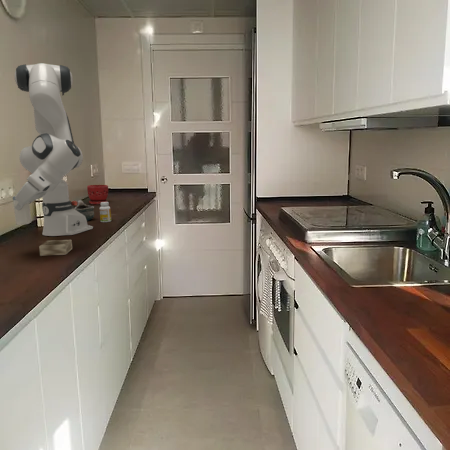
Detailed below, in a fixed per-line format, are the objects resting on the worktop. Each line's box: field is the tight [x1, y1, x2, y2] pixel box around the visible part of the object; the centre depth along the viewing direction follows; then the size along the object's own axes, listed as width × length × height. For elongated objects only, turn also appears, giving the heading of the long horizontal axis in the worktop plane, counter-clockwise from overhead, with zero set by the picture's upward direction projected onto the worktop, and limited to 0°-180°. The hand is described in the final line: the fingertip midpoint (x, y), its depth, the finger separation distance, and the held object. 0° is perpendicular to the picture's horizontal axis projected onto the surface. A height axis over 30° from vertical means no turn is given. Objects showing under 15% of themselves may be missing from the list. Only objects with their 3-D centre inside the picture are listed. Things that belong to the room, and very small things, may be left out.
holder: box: [38, 239, 73, 257], centre depth 167 cm, size 9×9×4 cm
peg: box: [12, 195, 32, 225], centre depth 162 cm, size 4×4×10 cm
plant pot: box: [86, 184, 109, 205], centre depth 293 cm, size 13×13×12 cm
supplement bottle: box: [98, 201, 112, 223], centre depth 227 cm, size 5×5×10 cm
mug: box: [73, 199, 95, 222], centre depth 233 cm, size 10×12×10 cm
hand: (20, 207), depth 162 cm, fingers closed on peg, 4 cm apart
